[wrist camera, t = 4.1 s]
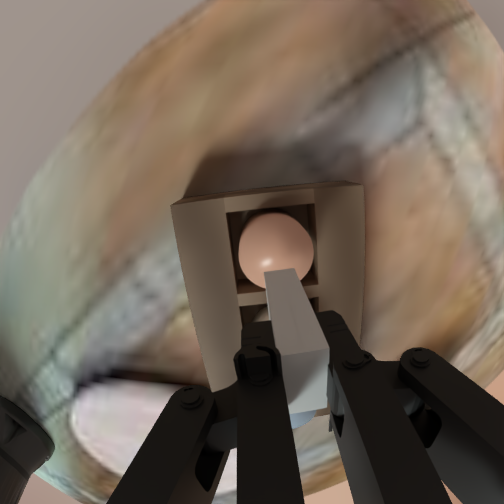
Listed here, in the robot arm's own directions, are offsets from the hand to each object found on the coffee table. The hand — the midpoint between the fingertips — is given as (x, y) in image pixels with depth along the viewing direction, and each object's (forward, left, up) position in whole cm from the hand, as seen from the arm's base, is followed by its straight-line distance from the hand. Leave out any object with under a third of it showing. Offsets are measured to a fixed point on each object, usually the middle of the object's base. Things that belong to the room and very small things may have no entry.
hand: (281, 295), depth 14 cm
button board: (0, -5, -8) cm, 9 cm away
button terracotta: (0, +1, -6) cm, 6 cm away
